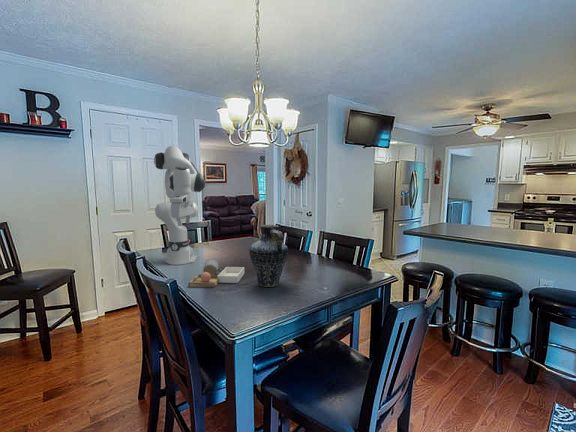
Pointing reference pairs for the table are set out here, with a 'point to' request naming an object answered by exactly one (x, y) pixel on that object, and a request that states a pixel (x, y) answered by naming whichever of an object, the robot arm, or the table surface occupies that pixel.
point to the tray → (199, 283)
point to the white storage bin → (231, 275)
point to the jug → (269, 256)
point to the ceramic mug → (212, 267)
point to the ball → (205, 277)
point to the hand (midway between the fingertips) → (184, 224)
